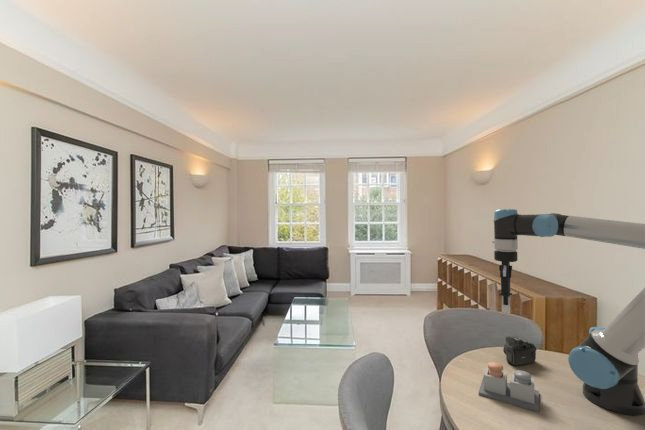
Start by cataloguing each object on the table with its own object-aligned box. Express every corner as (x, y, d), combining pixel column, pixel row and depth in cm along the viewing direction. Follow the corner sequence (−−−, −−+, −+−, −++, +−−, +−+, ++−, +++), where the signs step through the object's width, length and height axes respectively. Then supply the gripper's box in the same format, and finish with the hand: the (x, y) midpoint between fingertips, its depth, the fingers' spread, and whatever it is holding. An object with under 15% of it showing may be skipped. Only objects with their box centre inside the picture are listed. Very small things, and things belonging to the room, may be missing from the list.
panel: (538, 393, 107) (538, 375, 107) (538, 412, 97) (538, 393, 97) (483, 378, 117) (483, 362, 117) (478, 394, 107) (478, 377, 107)
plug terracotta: (503, 382, 110) (503, 364, 110) (502, 388, 106) (502, 370, 106) (488, 378, 113) (488, 360, 113) (486, 384, 109) (486, 366, 109)
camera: (512, 352, 138) (512, 330, 137) (538, 360, 130) (538, 337, 130) (498, 361, 130) (498, 338, 129) (525, 371, 122) (525, 346, 121)
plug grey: (531, 391, 105) (531, 372, 105) (531, 398, 101) (530, 379, 101) (514, 386, 108) (514, 368, 108) (513, 393, 104) (513, 375, 104)
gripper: (496, 247, 124) (496, 306, 125) (492, 251, 114) (492, 316, 114) (518, 248, 120) (518, 309, 121) (516, 253, 109) (516, 319, 110)
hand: (506, 312), depth 117 cm, fingers closed
